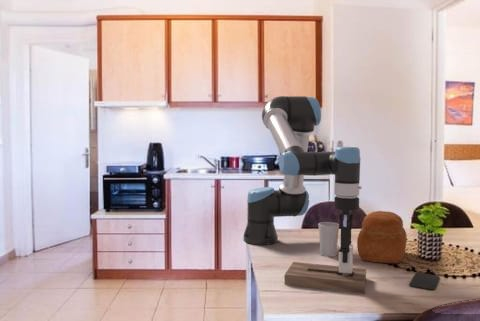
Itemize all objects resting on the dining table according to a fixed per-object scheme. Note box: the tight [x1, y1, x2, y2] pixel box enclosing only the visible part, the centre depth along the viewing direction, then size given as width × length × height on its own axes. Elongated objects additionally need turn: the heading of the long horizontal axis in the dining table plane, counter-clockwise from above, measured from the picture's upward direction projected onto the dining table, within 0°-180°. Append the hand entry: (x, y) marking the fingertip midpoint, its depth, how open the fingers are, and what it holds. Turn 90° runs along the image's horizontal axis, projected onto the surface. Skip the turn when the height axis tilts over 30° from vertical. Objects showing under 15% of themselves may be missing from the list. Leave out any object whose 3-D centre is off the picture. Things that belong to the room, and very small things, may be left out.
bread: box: [356, 210, 408, 264], centre depth 165 cm, size 18×22×17 cm
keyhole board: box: [284, 261, 367, 294], centre depth 136 cm, size 14×24×3 cm, turn 72°
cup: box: [317, 221, 340, 257], centre depth 167 cm, size 8×8×12 cm
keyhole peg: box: [338, 243, 354, 276], centre depth 134 cm, size 4×4×12 cm
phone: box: [408, 272, 441, 291], centre depth 136 cm, size 7×1×15 cm
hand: (345, 269), depth 134 cm, fingers closed on keyhole peg, 4 cm apart
